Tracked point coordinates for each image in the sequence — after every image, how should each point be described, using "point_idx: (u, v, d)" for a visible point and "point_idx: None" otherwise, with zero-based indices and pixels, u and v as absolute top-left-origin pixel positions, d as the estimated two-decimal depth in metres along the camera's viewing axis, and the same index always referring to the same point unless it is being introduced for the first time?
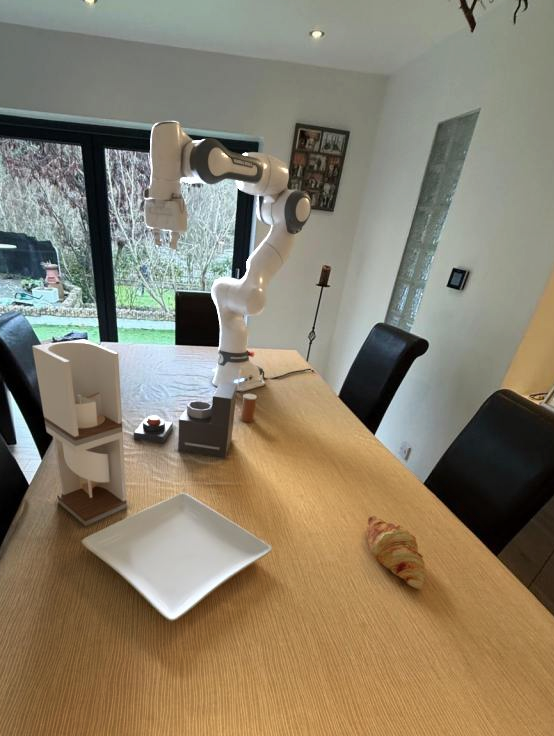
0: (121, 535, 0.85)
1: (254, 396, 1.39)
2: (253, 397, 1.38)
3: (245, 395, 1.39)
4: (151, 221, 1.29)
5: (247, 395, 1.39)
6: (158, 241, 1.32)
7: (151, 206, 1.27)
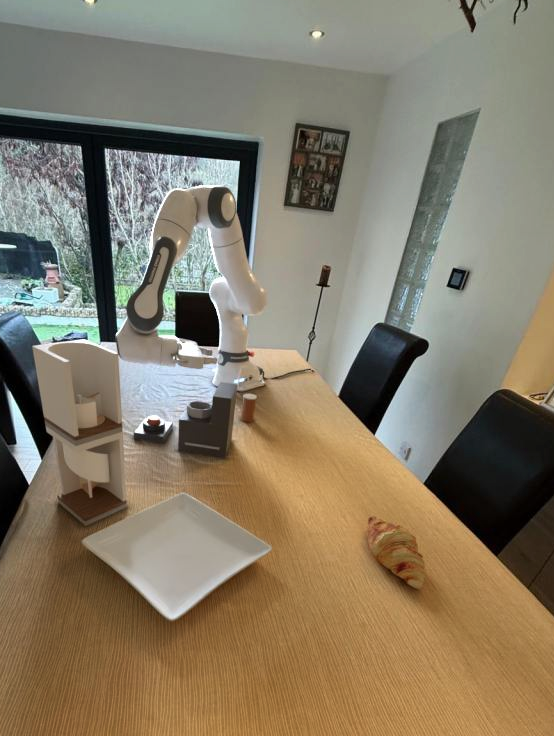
0: (121, 535, 0.85)
1: (254, 396, 1.39)
2: (253, 397, 1.38)
3: (245, 395, 1.39)
4: None
5: (247, 395, 1.39)
6: (208, 353, 1.33)
7: None
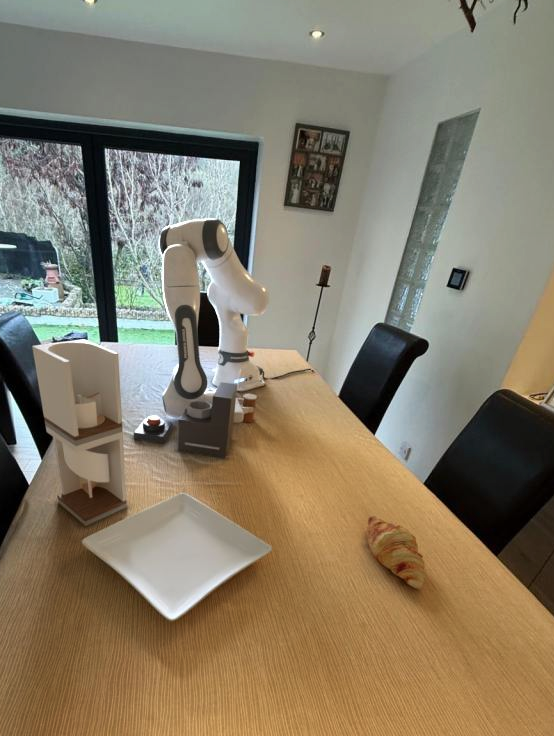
0: (121, 535, 0.85)
1: (254, 396, 1.39)
2: (253, 397, 1.38)
3: (245, 395, 1.39)
4: None
5: (247, 395, 1.39)
6: None
7: None
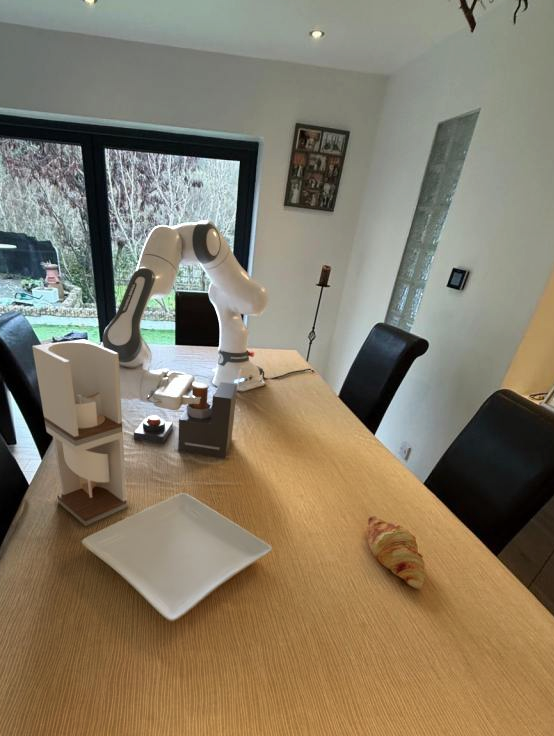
0: (121, 535, 0.85)
1: (205, 385, 1.14)
2: (202, 386, 1.14)
3: (195, 383, 1.15)
4: None
5: (198, 383, 1.15)
6: None
7: None
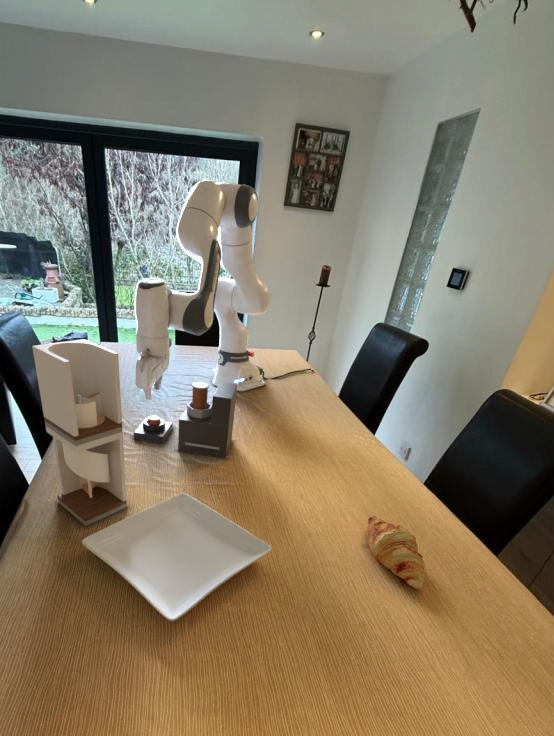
0: (121, 535, 0.85)
1: (205, 385, 1.14)
2: (202, 386, 1.14)
3: (195, 383, 1.15)
4: None
5: (198, 383, 1.15)
6: (155, 385, 1.24)
7: None
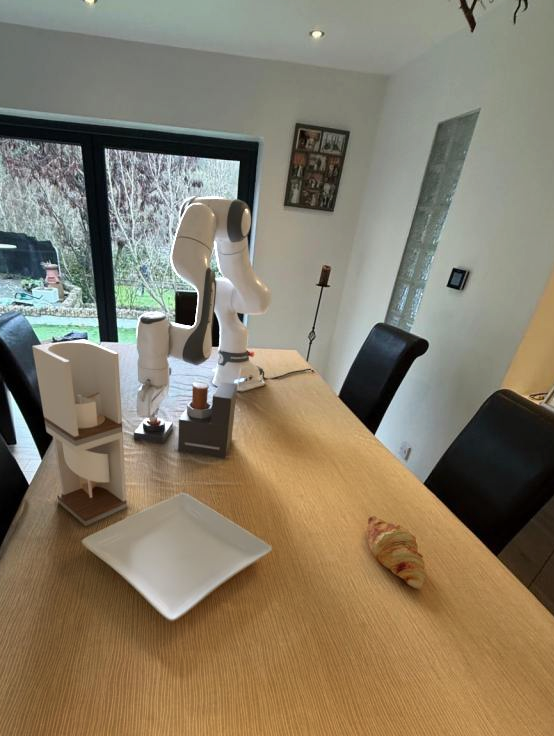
0: (121, 535, 0.85)
1: (205, 385, 1.14)
2: (202, 386, 1.14)
3: (195, 383, 1.15)
4: None
5: (198, 383, 1.15)
6: None
7: None
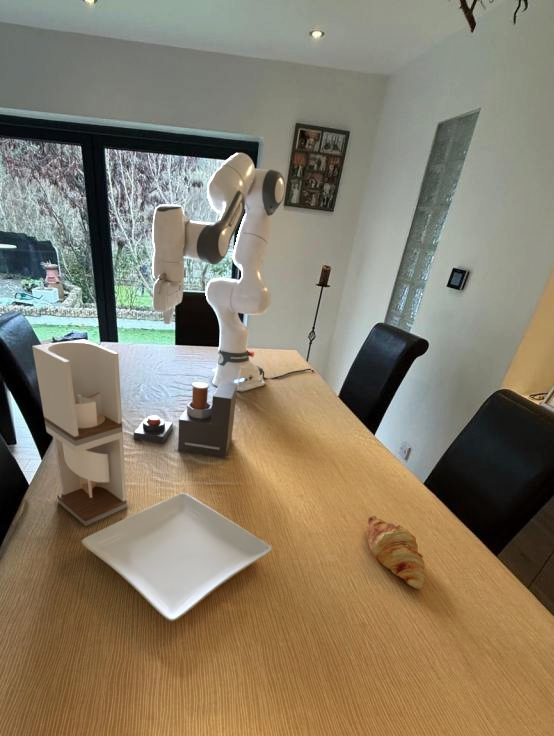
0: (121, 535, 0.85)
1: (205, 385, 1.14)
2: (202, 386, 1.14)
3: (195, 383, 1.15)
4: None
5: (198, 383, 1.15)
6: None
7: None
